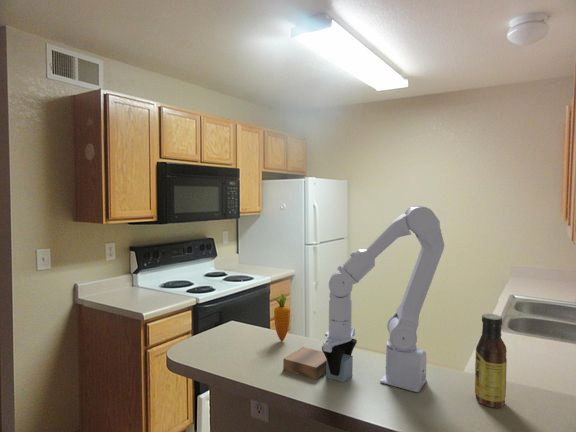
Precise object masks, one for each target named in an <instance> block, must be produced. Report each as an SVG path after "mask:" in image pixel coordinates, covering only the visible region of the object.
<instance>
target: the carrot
mask: <svg viewBox="0 0 576 432" xmlns="http://www.w3.org/2000/svg"><path fill="white" fill-rule="evenodd" d="M280 296H281V297H279V299H278V298H277V297H275V298H274V301H276V302H277V303H278V305H277V306H276V307H275V308H274V310H273V312H274V327H275V331H276V334H277V338H278V339H279V340H280V341H281V342H284V340H285V338H286V337H287V334H288V331H289V325H290V315H291V309H290V307H289V306H287V305H286V304H285V303H286V300H287V296H285V294H284V293H281V294H280Z"/></svg>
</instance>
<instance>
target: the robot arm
mask: <svg viewBox="0 0 576 432" xmlns="http://www.w3.org/2000/svg"><path fill="white" fill-rule="evenodd" d="M412 233H413V234H415V236H416V239H417V241H418V243H419V244H420V246H421V248H420V251H419V253H418V256H417V259H416V261H415V264H414V267H413V269H412V273H411V274H410V278H409V280H408V282H407V283H408V284H407V286H406V288H405V291H404V294H403V295H402V296H403V297H402V299H401V303H400V304H399V306H398V307H397V308H396V310H395V313H394V314H393V315H392V316H391V317H390V318H389V320H388V321H387V324H386V325H387V331H388V335H389V339H388V340H387V341H386V349H385V350H386V351H385V356H386V357H385V374H384V375H383V376H382V378H381V379H380V380H379V382H380V383H381V384H386V385H387V386H388V385H389V386H391V387H395V388H400V389H404V390H407V391H411V392H414V393H419V392H420V391H421V390H422V388H423V386H424V385H425V383H426V382H427V380H428V379H427V352H426V351H425V350H423V349H421V348H419V347H417V341H418V336H417V330H418V327H419V323H420V321H419V320H420V314H421V310H422V308H423V307H424V302H425V300H426V297H427V295H428V292H429V289H430V287H431V284H432V281H433V279H434V276H435V274H436V271H437V267H438V265H439V262H440V260H441V257H442V255H443V253H444V249H445V242H444V237H443V233H442V229H441V221H440V220H439V218H438V216H436V214H435V213H434V211H433V210H432V209H430V208H429V207H427V206H421V205H413V206H411V207H409V208H407V210H406V211H405V212H404V213H401V215H398V216H397V218H395V219H394V220H393V221H391V222H390V224H389V225H388V226H387V227H386V228H385V229H384V230H383V231H382V232H381V233H380V234H378V236H377V238H376V239H374V241H373V242H372V243H371V244H370V245H369V246H368V247H367V248H366V249H358V250H356V251H354V250H353V251H352V252H351V253H350V257H349V258H348V259H347V260H346V261H345V262H344V263H343V264H342V265H339V266H337V267H336V268H337V271H335V272H332V274H331V276H330V279H329V282H328V290H329V300H328V331H326V332H325V333H324V336H325V337H326V338H325V340H324V342H322V343H323V344H322V346H321V352H323V353H324V355H325V357H326V359H327V362H328V366H329V370H330V374H332V375H335V376H338V375H339V372H340V365H341V360H342V356H343V354H347V355H351V356H352V353H353V352H354V349H355V347H356V345H357V344H358V343H357V342H358V341H357V339H356V338H353V337H355V336H356V328H354V327H352V310H353V309H352V307H353V305H352V303H353V302H352V300H351V296H352V295H351V292H352V291H353V285H355V284H358V283H359V282H361V280H362V279H363V278H364V277H365V276H366V275H368V274H369V272H370V271H372V269H373V268H374V267H376V258H377V257H378V256H380V255H381V254H382V253H383V252H384V251H385V250H386V249H387V248H389V247H390V246H391V245H392V244H393V243H394V242H395V241H396V240H397V239H400V238H402V237H406V236H410V235H412Z"/></svg>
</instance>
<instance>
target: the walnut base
mask: <svg viewBox="0 0 576 432" xmlns="http://www.w3.org/2000/svg"><path fill="white" fill-rule="evenodd" d="M283 371H285V372H291V373H293V374H296V375H301V376H303V377H308V378H310V379H315V380H318V379H319V378H321V376H323V375H324V374H326V357H325V355H324V353H323V351H322V350H317V349H313V348H309V347H304V346H302V347H300V348H299V349H297V350H296V351H294V352H292V353H290V354H288V355H287V356H286V357H284V358H283Z"/></svg>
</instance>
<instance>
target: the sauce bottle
mask: <svg viewBox="0 0 576 432" xmlns="http://www.w3.org/2000/svg"><path fill="white" fill-rule="evenodd" d="M481 322H482V330H481V336H480V338H479V340H478V342H477V344H476V347H475V363H474V366H475V367H474V394H475V399H476V401H477V402H478V403H479V404H482V406H483V405H484V406H486V407H489V408H494V409H495V408H496V407H498V408H501V407H503V406H504V405H505V403H506V396H507V395H506V394H507V393H506V392H507V366H508V365H507V362H508V361H507V347H506V344H505V342H504V341H503V339H502V326H503V317H502V316H500V315H498V314H494V313H484V314H482V316H481Z"/></svg>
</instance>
